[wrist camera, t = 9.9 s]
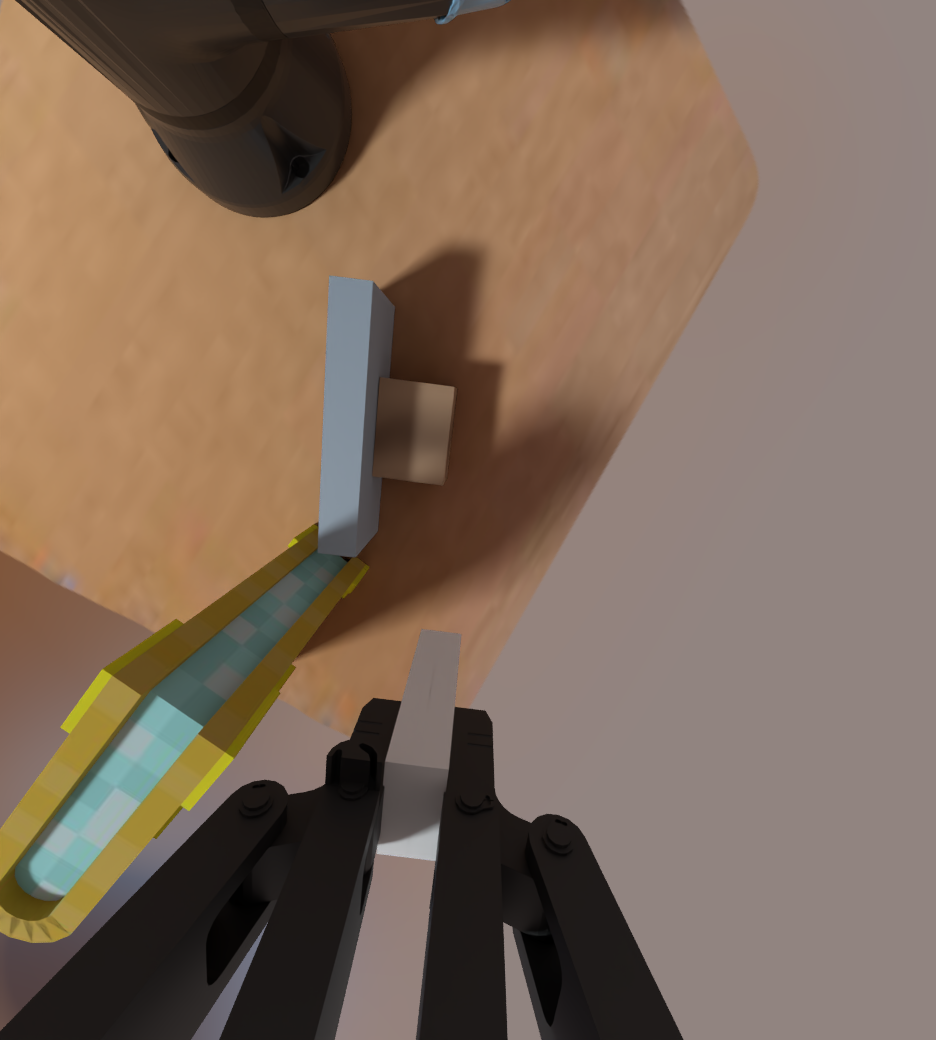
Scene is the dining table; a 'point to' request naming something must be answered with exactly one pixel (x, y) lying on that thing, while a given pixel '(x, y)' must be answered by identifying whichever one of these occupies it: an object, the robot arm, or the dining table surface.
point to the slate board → (352, 413)
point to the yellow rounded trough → (158, 737)
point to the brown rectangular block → (413, 431)
